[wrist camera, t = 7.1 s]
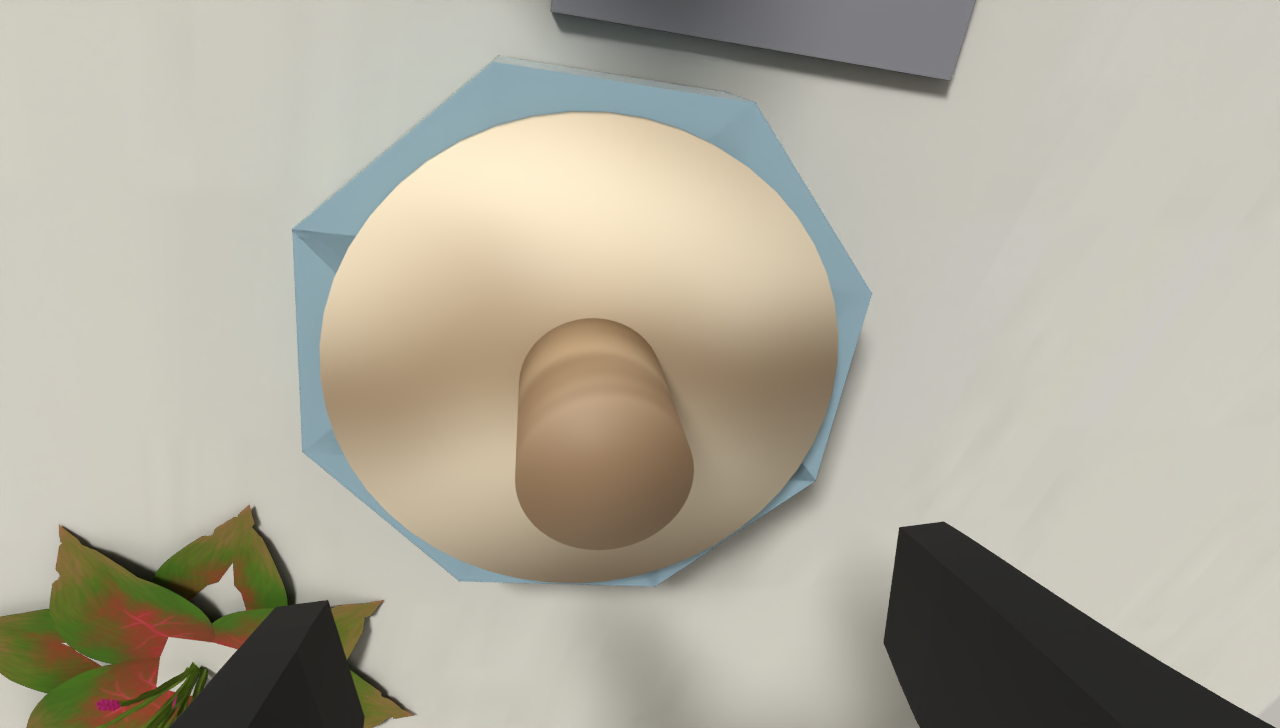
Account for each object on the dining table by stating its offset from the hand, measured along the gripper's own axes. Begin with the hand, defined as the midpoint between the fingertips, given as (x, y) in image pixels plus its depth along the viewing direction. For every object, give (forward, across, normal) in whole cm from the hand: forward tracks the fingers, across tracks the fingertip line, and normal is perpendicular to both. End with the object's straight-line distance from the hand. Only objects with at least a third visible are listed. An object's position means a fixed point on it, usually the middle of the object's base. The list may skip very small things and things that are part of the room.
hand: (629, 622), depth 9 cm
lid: (+7, 0, 0) cm, 7 cm away
